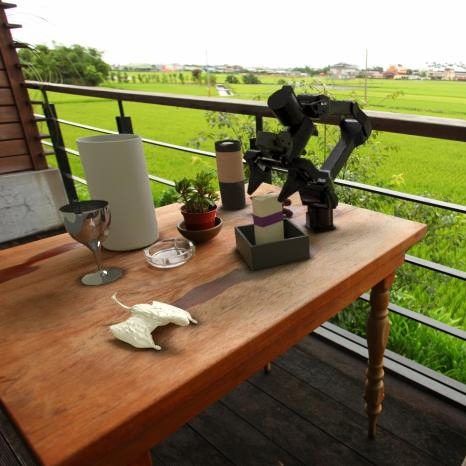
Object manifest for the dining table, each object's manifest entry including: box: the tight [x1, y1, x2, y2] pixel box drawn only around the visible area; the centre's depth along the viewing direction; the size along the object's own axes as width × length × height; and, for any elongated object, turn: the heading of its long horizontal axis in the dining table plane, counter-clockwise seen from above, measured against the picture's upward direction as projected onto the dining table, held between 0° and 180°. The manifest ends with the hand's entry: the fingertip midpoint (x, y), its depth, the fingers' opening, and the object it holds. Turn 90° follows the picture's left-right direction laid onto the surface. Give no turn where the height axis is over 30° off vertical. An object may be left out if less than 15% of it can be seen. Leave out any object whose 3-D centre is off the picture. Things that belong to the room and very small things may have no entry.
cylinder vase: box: [75, 133, 160, 252], centre depth 90 cm, size 12×12×25 cm
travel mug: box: [213, 139, 247, 211], centre depth 118 cm, size 8×8×20 cm
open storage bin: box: [233, 217, 311, 271], centre depth 89 cm, size 13×13×6 cm
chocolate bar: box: [251, 191, 284, 245], centre depth 88 cm, size 3×6×13 cm, turn 142°
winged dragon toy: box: [109, 291, 198, 351], centre depth 63 cm, size 18×10×4 cm, turn 66°
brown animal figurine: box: [249, 191, 294, 217], centre depth 114 cm, size 7×7×15 cm
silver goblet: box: [58, 199, 123, 286], centre depth 76 cm, size 8×8×15 cm
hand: (263, 198), depth 84 cm, fingers open, 9 cm apart
